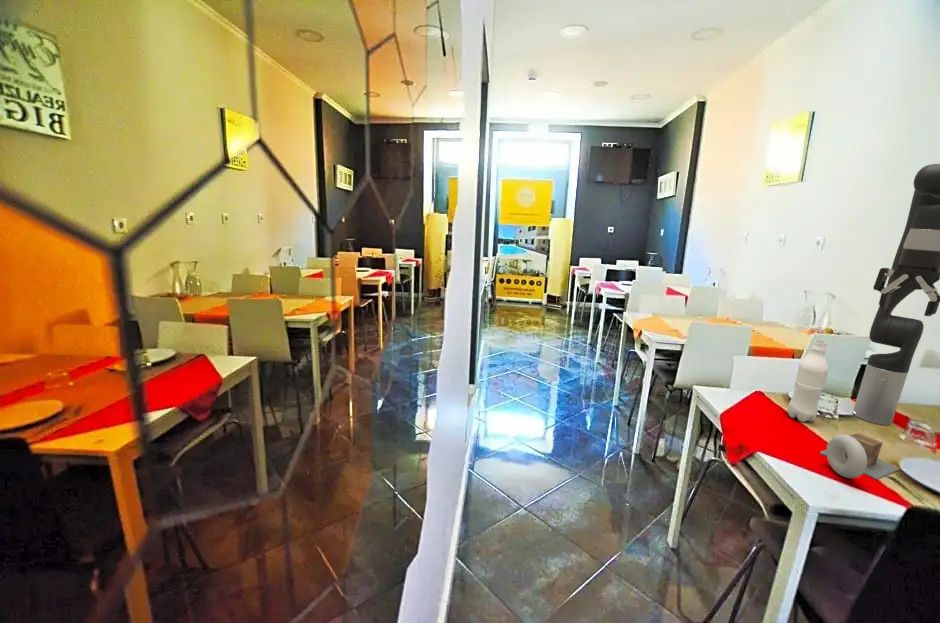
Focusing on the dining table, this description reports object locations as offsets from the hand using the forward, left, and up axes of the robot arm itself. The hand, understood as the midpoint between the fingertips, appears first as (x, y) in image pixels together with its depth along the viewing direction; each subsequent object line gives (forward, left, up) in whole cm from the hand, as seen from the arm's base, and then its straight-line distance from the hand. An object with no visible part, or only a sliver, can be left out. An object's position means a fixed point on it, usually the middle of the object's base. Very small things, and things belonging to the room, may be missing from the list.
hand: (904, 311), depth 108 cm
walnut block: (+12, +4, -38) cm, 40 cm away
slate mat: (+12, +4, -38) cm, 40 cm away
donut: (+24, +6, -38) cm, 46 cm away
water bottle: (0, -16, -38) cm, 42 cm away
